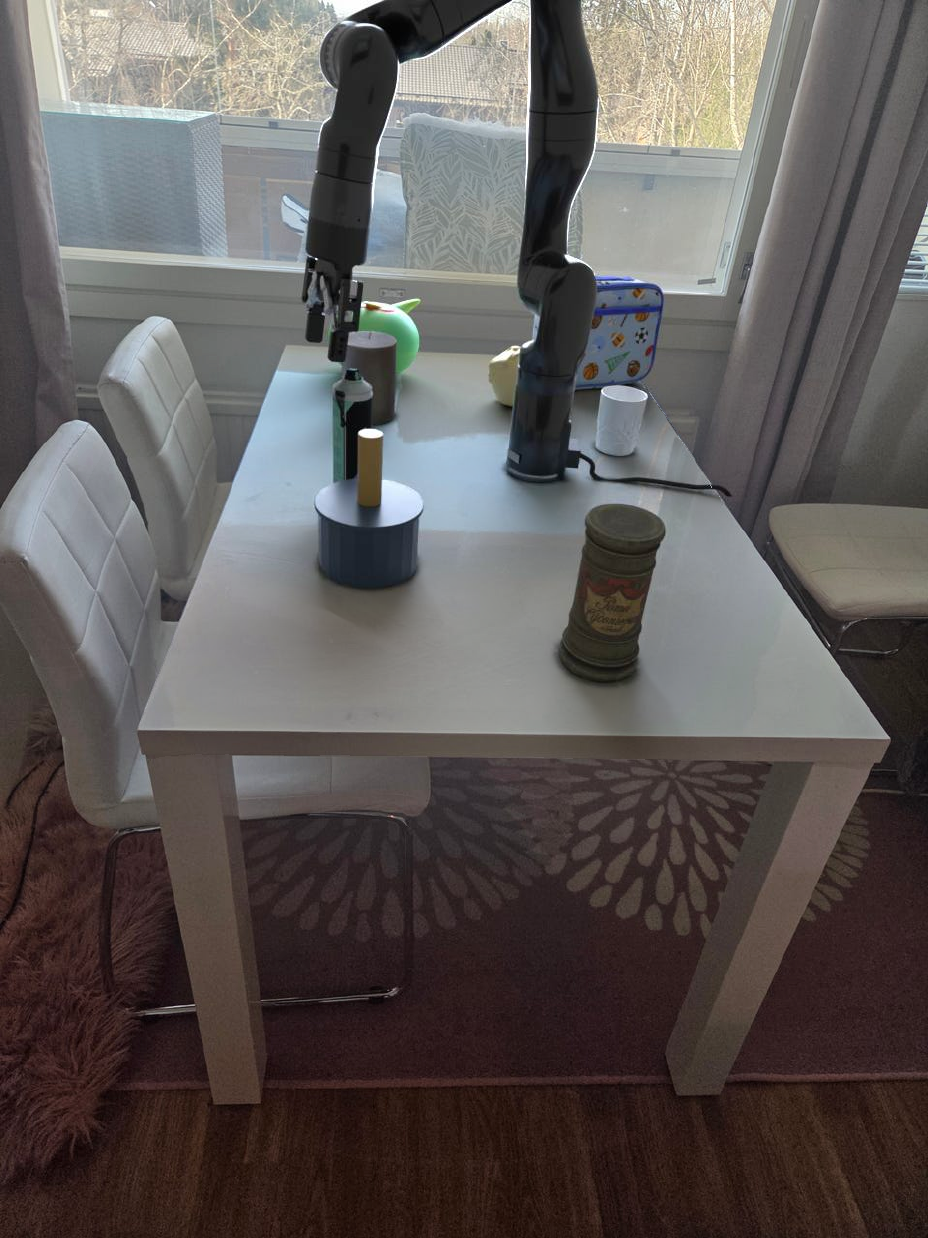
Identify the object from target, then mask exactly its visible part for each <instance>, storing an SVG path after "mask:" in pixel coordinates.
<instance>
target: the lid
mask: <svg viewBox="0 0 928 1238" xmlns="http://www.w3.org/2000/svg"><path fill="white" fill-rule="evenodd" d="M383 456H384V433H383V432H382V431H381V430H378V429H375V428H372V429H363V430H361V431H359V432H358V478H357V479H348V480H343V481H339V482H335V483H333V482H332V483H330V484H328V485H326V486H325V487H322V489H320V490H319V491H318V492H317V494H316V495H315V496H314V501H313V503H314V510H315V512H316V513H317V515H318V514H319V516H321V517H322V518H323V519H324V520H326V521H327V522H329V523H331V524H334V525H336V526H339V527H342V528H346V529H350V530H356V531H369V532H376V531H388V530H394V529H398V528H401V527H405V526H407V525H409V524H411V523H413V522H415V521H416V520H417V519H418V518H419V519H420V517H421V516H422V515H423V512H424V509H425V508H424V507H425V505H424V500H423V498H422V496H421V495H420V493H418V491H416V490H414V489H413V488H412V487H409V486H407V485H406V484H403V483H400V482H396V481H394V480H388V479H383V461H384V460H383V459H384V457H383Z"/></svg>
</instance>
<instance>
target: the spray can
mask: <svg viewBox="0 0 928 1238" xmlns="http://www.w3.org/2000/svg"><path fill="white" fill-rule="evenodd" d="M331 391H332V394H331V395H332V484H333V483H335V482H339V481H343V480H348V479H357V478H358V432H359V431H361V430H363V429H373V424H372V411H373V392H372V385H371V384H369V383H367V382H365V381H364V380H363V377H361V375H360V374H359V368H356V367H354V368H350V369H346V374H345V375H344V376H343V377H342V376H341V379H340V380H338V381H336V382H334V383H333V384H332V390H331Z"/></svg>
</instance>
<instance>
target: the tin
mask: <svg viewBox="0 0 928 1238" xmlns="http://www.w3.org/2000/svg"><path fill="white" fill-rule="evenodd" d="M317 523H318V526H317V528H318V530H317V531H318V562H319V567H320V570H321V571H322V573H323V574H324V575H325V576H326V577H327V578H329V579H330V580H332V581H333V582H335V583H337V584H339V585H343V586H346V587H350V588H355V589H362V590H378V589H385V588H390V587H394V586H396V585H400V584H402V583H403V582H405V581H407V580H409V579H410V578H411V577H412V576H413V575H414V573H415V572H416V570H417V563H418V549H419V548H418V546H419V529H420V517H419V518H418V519H417V520H416V521H415V522H413V523H411V524H409V525H407V526H405V527H401V528H398V529H394V530H388V531H376V532H369V531H356V530H350V529H346V528H342V527H339V526H336V525H334V524H331V523H329V522H327V521H326V520H324V519H323V518H322V517H321V516H319V514H318V513H317Z"/></svg>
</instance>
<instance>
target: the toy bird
mask: <svg viewBox="0 0 928 1238" xmlns="http://www.w3.org/2000/svg"><path fill="white" fill-rule="evenodd" d="M420 304H421V299H419V298H412V299H407V300H405V301H400V302H397V303H392V304H389V303H386V302H376V301H367V300H366V301H362V303H361V312H360V321H359V329H358V332H359V331H373V332H380V333H385V334H389V335H391V336H393V337H394V338H396V340H397V361H396V375H397V374H400V373H401V372H404V371H405V370H406V369H408V368H409V367H410V366H411V365H412V364H413V362H414V361H415V359H416V357H417V355H418V352H419V348H420V335H419V330H418V328H417V325H416V324H415V323H414V321H413V319H412V318H411V317H410V316H409V315H408V313H410V311H412V310H413V309H415V308H416V307H418V305H420ZM352 317H353V313H352V314H351V318H352ZM337 318H338V315H337ZM330 331H332V330H331V324H329V327H328V333H327V343H328V345H329V340H330ZM337 363H338V364H339V365H340V366H342V362H337Z"/></svg>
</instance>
